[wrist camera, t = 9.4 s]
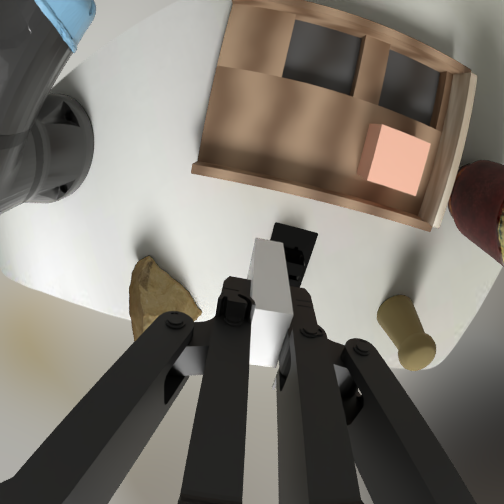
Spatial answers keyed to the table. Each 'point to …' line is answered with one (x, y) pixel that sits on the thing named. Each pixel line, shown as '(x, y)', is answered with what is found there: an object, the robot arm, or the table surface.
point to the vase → (480, 206)
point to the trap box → (331, 107)
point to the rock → (156, 296)
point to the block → (393, 158)
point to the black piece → (295, 249)
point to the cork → (406, 332)
